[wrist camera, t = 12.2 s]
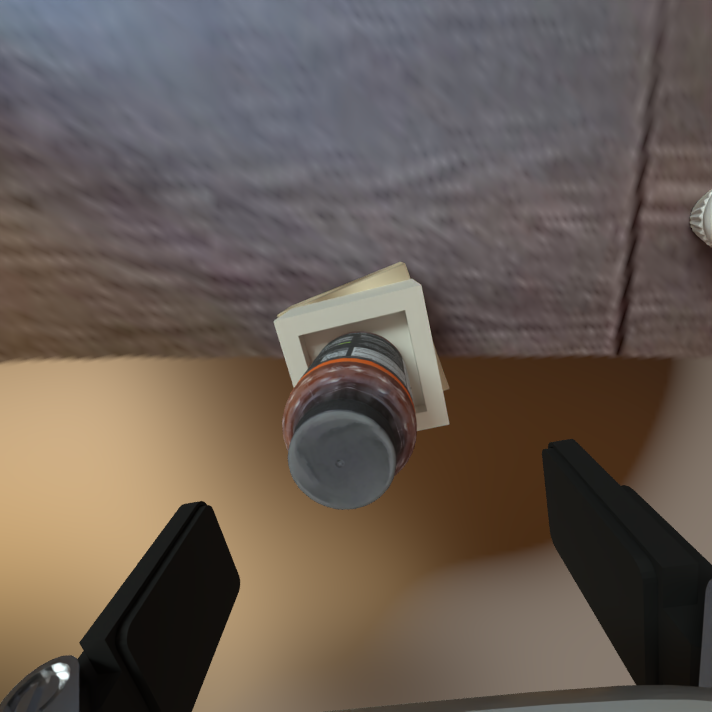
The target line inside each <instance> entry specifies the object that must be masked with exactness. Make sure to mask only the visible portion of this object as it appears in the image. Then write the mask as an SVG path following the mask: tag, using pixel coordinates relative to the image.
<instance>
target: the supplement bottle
mask: <svg viewBox="0 0 712 712" xmlns="http://www.w3.org/2000/svg"><path fill="white" fill-rule="evenodd" d="M282 423H283V424H282V426H283V428H282V429H283V437H284V441H285V445H286V447H287V450H288V463H289V468H290V472H291V475H292V477H293V479H294V481H295V482H296V484H297V485H298V487H299V488H300V489H301V490H302V491H303V492H304V493H305V494H306V495H307V496H308V497H310V498H311V499H312V500H314V501H316V502H317V503H319V504H322V505H324V506H327V507H330V508H334V509H342V510H343V509H356V508H359V507H363V506H366V505H368V504H370V503H372V502H374V501H375V500H377V499H378V498H380V496H381V495H382V494H383V493H384V492H385V491H386V490H387V489H388V488H389V486H390V484H391V482H392V480H393V478H394V476H395V475H396V474H397V473H398V472H399V471H400V470H401V469H402V468H403V467H404V466H405V464H406V463H407V462H408V460H409V458H410V456H411V454H412V452H413V449H414V446H415V442H416V433H417V421H416V414H415V406H414V402H413V397H412V392H411V387H410V382H409V377H408V372H407V368H406V365H405V363H404V360H403V358H402V355H401V354H400V352H399V351H398V349H397V348H396V347H395V346H394V345H393V344H392V343H391V342H390V341H388V340H387V339H385V338H384V337H382V336H380V335H377V334H374V333H371V332H365V331H357V332H349V333H346V334H343V335H341V336H339V337H337V338H335V339H334V340H332V341H331V342H329V343H328V344H327V345H326V346H325V347H324V348H323V349H322V350H321V352H320V353H319V355H318V356H317V357H316V358H315V360H314V361H313V363H312V364H311V365H310V367H309V368H308V369H307V371H306V372H305V373H304V375H303V376H302V377H301V379H300V380H299V382H298V383H297V385H296V386H295V387H294V389H293V390H292V392H291V394H290V397H289V398H288V401H287V403H286V406H285V410H284V414H283V420H282Z"/></svg>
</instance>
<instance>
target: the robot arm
mask: <svg viewBox="0 0 712 712" xmlns="http://www.w3.org/2000/svg"><path fill="white" fill-rule="evenodd" d="M542 458H543V468H544V477H545V487H546V497H547V507H548V517H549V526H550V534H551V538H552V540H553V543H554V546H555V548H556V550H557V551H558V553H559V555H560V556H561V558H562V559H563V561H564V563H565V564H566V566H567V568H568V570H569V572H570V573H571V575H572V577H573V578H574V580H575V582H576V583H577V585H578V587H579V589H580V590H581V592H582V594H583V595H584V597H585V599H586V600H587V602H588V604H589V606H590V607H591V609H592V611H593V612H594V614H595V616H596V617H597V619H598V621H599V622H600V624H601V626H602V627H603V629H604V631H605V633H606V634H607V636H608V638H609V639H610V641H611V643H612V644H613V646H614V648H615V650H616V651H617V653H618V655H619V656H620V658H621V660H622V661H623V663H624V665H625V666H626V668H627V670H628V672H629V673H630V675H631V677H632V679H633V680H634V682H635V683H636V685H633V686H611V687H598V688H584V689H569V690H556V691H541V692H528V693H519V694H518V693H517V694H507V695H495V696H485V697H474V698H463V699H452V700H441V701H429V702H419V703H408V704H397V705H387V706H377V707H367V708H356V709H347V710H337V711H336V710H335V711H325V712H712V565H711V564H710V563H709V562H708V561H707V560H706V559H705V558H704V557H703V556H702V555H701V554H700V553H699V552H698V551H697V550H696V549H695V548H694V547H693V546H692V545H690V544H689V543H688V542H687V541H686V540H685V539H684V538H683V537H682V536H681V535H680V534H679V533H678V532H677V531H676V530H675V529H674V528H673V527H672V526H671V525H670V524H669V523H667V521H665V520H664V519H663V518H662V517H661V516H660V515H659V514H658V513H657V512H656V511H655V510H654V509H653V508H652V507H651V506H650V505H649V504H648V503H647V502H646V501H644V499H642V498H641V497H640V496H639V495H638V494H637V493H636V492H635V491H634V490H633V489H631V488H630V487H629V486H625V485H623V486H620V485H619V484H618V483H617V482H616V481H615V480H614V479H613V478H612V477H611V476H610V475H609V474H608V473H607V472H606V471H605V470H604V469H603V468H602V467H601V466H600V465H599V464H598V463H597V462H596V461H595V460H594V459H593V458H592V457H591V456H590V455H589V454H588V453H587V452H586V451H585V450H584V449H583V448H582V447H581V446H580V445H579V444H578V443H577V442H576V441H575V440H573V439H568V440H562V441H556V442H551V443H549V445H548V449H543V451H542ZM239 588H240V578H239V575H238V572H237V569H236V567H235V564H234V562H233V559H232V557H231V554H230V552H229V549H228V546H227V544H226V541H225V539H224V536H223V534H222V531H221V529H220V527H219V524H218V521H217V518H216V516H215V513H214V511H213V509H212V507H211V506H209V505H207V504H206V503H205V502H203V501H200V502H194V503H188V504H184V505H182V506H181V507H179V509H178V510H177V512H176V513H175V514H174V516H173V517H172V518H171V520H170V521H169V523H168V524H167V525H166V526H165V528H164V529H163V531H162V532H161V533H160V535H159V536H158V537H157V539H156V540H155V541H154V543H153V544H152V545H151V547H150V548H149V549H148V551H147V552H146V554H145V555H144V556H143V557H142V559H141V560H140V562H139V563H138V564H137V566H136V567H135V568H134V570H133V571H132V572H131V574H130V575H129V576H128V578H127V579H126V580H125V582H124V583H123V585H122V586H121V587H120V589H119V590H118V591H117V593H116V594H115V595H114V597H113V598H112V599H111V601H110V602H109V603H108V605H107V606H106V607H105V609H104V610H103V612H102V613H101V614H100V615H99V617H98V618H97V620H96V621H95V622H94V624H93V625H92V626H91V628H90V629H89V630H88V632H87V633H86V635H85V636H84V637H83V639H82V640H81V641H80V645H81V646H82V648H83V650H84V651H83V652H82V654H81V655H80V657H79V658H78V659H77V658H75V657H73V656H61V657H58V658H55V659H52V660H50V661H48V662H47V663H45V664H43V665H41V666H39V667H38V668H37V669H35V670H34V671H32V672H31V673H30V674H28V675H27V676H26V677H25V678H24V679H23V680H21V681H20V682H19V683H18V684H17V685H16V686H15V687H14V688H13V689H12V690H11V691H10V692H9V694H8V695H7V696H6V697H5V698H4V699H3V701H2V702H1V704H0V712H192V709H193V707H194V704H195V702H196V699H197V697H198V694H199V691H200V689H201V686H202V684H203V681H204V678H205V676H206V674H207V671H208V669H209V666H210V663H211V661H212V658H213V656H214V653H215V651H216V648H217V645H218V643H219V641H220V638H221V636H222V633H223V630H224V628H225V625H226V623H227V620H228V618H229V615H230V613H231V610H232V607H233V605H234V602H235V600H236V597H237V595H238V592H239Z"/></svg>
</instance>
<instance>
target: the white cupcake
mask: <svg viewBox="0 0 712 712" xmlns="http://www.w3.org/2000/svg"><path fill="white" fill-rule="evenodd" d="M690 214H691V216H690V220H691V221H690V224H691V226H690V227H691V228H692V231H693V232H694V233H695V234H696V235H697V236H698V237H699V238H700V239H701V240H703V241H704V242H705V243H706V244H707V245H709V246H710V247H712V189H711V190H710V191H708V192H707V193H706V194H705V195H704V196H703V197H702V198H701V199H700V200H699V201H698V202H697V203H696V204H695V207H694V208H693V209H692V212H691V213H690Z"/></svg>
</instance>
